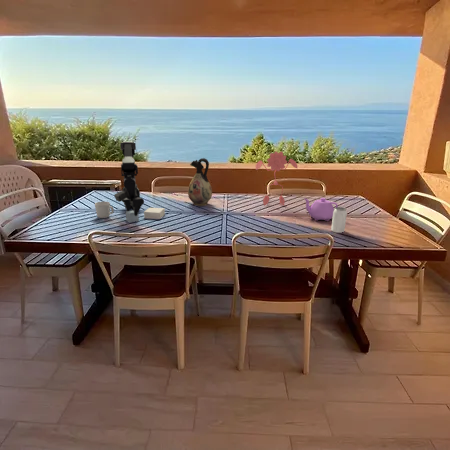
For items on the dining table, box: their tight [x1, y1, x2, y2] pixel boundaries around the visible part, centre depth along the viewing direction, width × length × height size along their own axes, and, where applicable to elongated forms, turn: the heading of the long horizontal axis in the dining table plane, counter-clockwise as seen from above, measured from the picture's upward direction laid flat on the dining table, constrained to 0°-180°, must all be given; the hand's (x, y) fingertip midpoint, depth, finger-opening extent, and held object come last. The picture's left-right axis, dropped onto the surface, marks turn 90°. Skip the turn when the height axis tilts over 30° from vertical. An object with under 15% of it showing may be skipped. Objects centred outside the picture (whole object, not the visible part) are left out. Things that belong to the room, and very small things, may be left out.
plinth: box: [143, 207, 166, 220], centre depth 196 cm, size 9×9×4 cm
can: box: [330, 206, 348, 234], centre depth 176 cm, size 6×6×12 cm
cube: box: [125, 209, 140, 224], centre depth 188 cm, size 5×5×5 cm
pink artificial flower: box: [255, 150, 298, 211], centre depth 216 cm, size 15×26×35 cm, turn 89°
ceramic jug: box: [187, 157, 213, 207], centre depth 219 cm, size 17×15×30 cm
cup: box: [94, 201, 115, 219], centre depth 192 cm, size 11×8×8 cm
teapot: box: [303, 197, 339, 222], centre depth 196 cm, size 20×14×12 cm
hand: (132, 213), depth 187 cm, fingers open, 9 cm apart
